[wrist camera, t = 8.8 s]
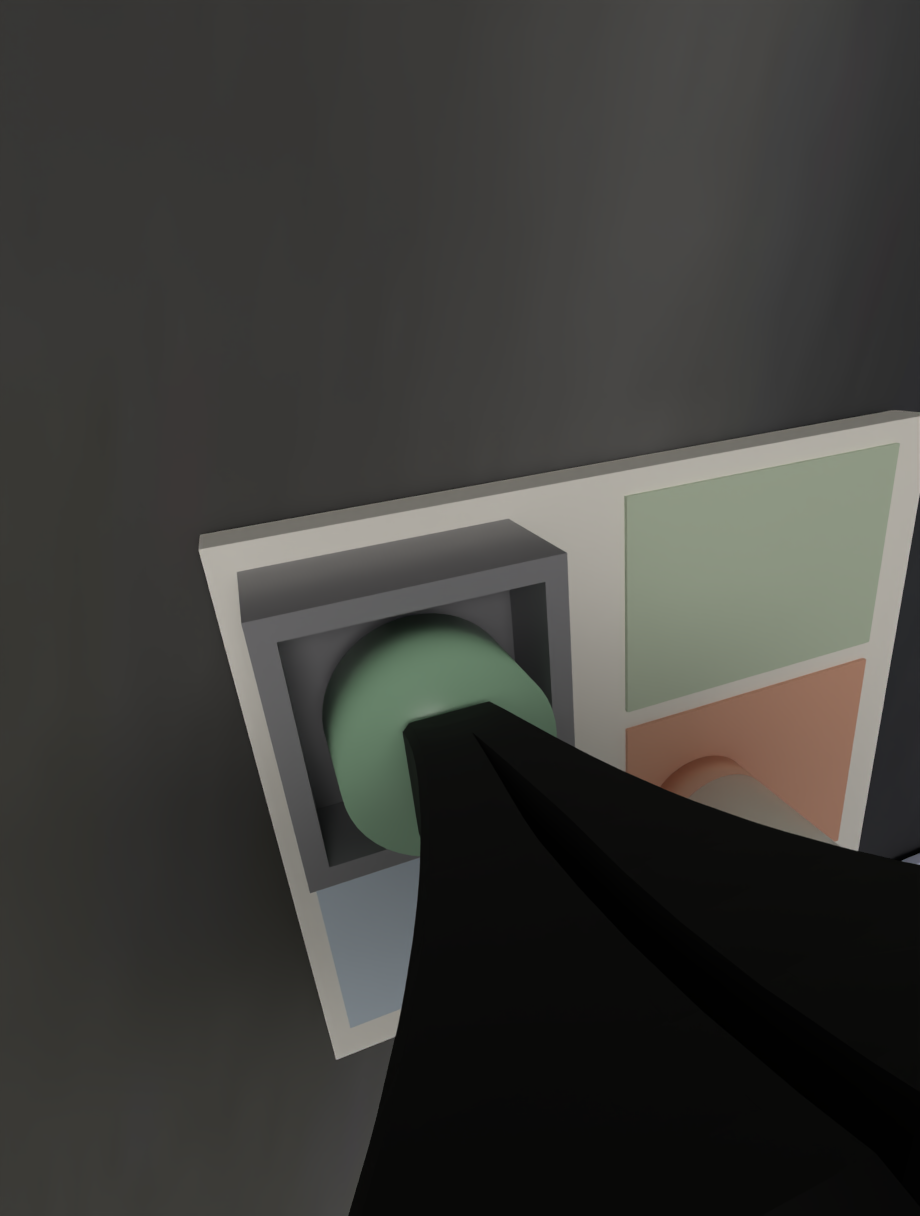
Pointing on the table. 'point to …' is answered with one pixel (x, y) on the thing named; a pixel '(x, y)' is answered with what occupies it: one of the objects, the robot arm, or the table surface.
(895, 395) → the table surface
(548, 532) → the board
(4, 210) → the table surface
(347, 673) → the button
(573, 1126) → the robot arm
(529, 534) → the button housing
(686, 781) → the orange and grey cylinder
